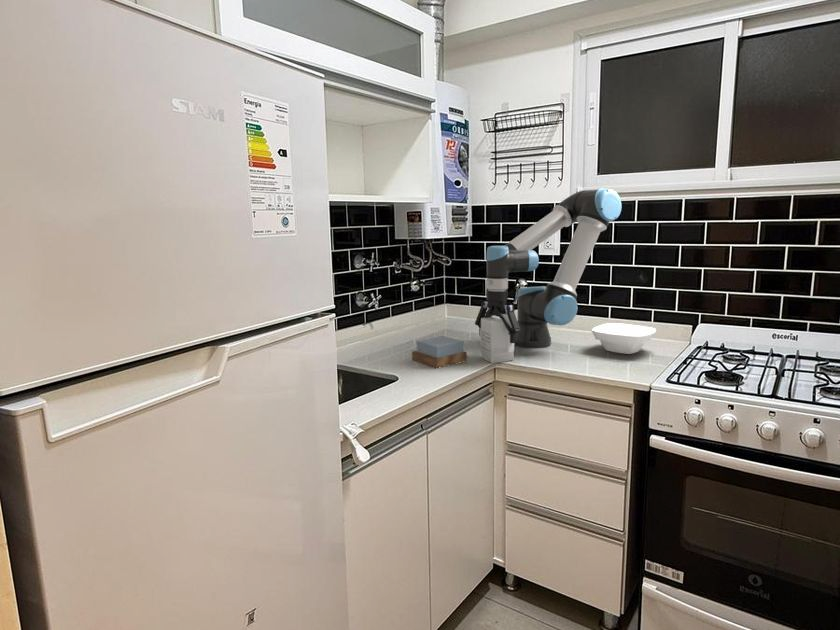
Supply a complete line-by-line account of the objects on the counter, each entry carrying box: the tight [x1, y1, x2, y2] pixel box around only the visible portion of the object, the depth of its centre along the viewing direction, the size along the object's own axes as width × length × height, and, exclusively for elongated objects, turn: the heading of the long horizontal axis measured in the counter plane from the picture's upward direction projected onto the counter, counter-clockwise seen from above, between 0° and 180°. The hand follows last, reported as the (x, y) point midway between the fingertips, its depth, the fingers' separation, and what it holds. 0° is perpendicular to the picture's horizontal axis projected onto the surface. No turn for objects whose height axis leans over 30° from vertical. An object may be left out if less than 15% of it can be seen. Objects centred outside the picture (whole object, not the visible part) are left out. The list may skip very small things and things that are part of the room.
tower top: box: [416, 335, 465, 358], centre depth 191 cm, size 12×12×4 cm
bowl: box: [591, 322, 657, 355], centre depth 199 cm, size 21×21×9 cm
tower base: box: [411, 349, 468, 369], centre depth 192 cm, size 14×14×4 cm
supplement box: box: [480, 316, 515, 364], centre depth 192 cm, size 9×9×15 cm
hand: (496, 348), depth 192 cm, fingers open, 13 cm apart
